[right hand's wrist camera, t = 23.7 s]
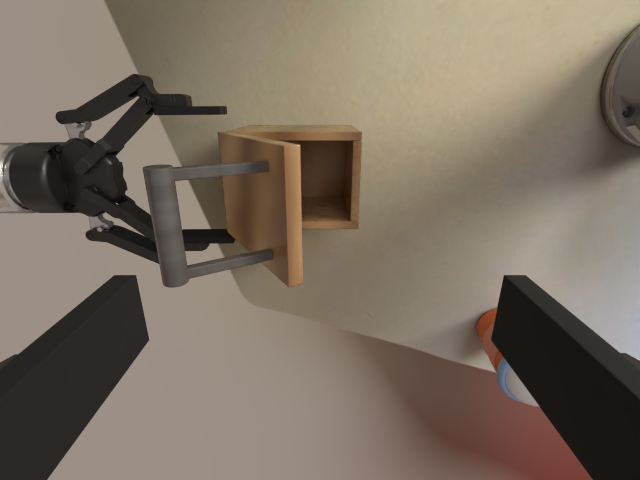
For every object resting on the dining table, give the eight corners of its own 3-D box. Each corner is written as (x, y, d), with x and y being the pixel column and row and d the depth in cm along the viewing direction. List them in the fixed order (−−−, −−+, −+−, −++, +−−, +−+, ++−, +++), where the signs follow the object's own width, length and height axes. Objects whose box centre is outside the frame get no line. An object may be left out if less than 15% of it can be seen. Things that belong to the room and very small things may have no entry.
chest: (351, 125, 43) (362, 131, 33) (349, 201, 47) (358, 229, 36) (248, 125, 43) (225, 131, 33) (253, 201, 47) (234, 229, 36)
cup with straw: (463, 351, 55) (527, 459, 38) (470, 299, 52) (542, 393, 35) (522, 349, 55) (612, 457, 38) (532, 297, 52) (636, 390, 35)
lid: (300, 144, 22) (145, 153, 17) (303, 283, 25) (173, 319, 21) (230, 131, 32) (123, 135, 28) (238, 230, 36) (144, 246, 32)
